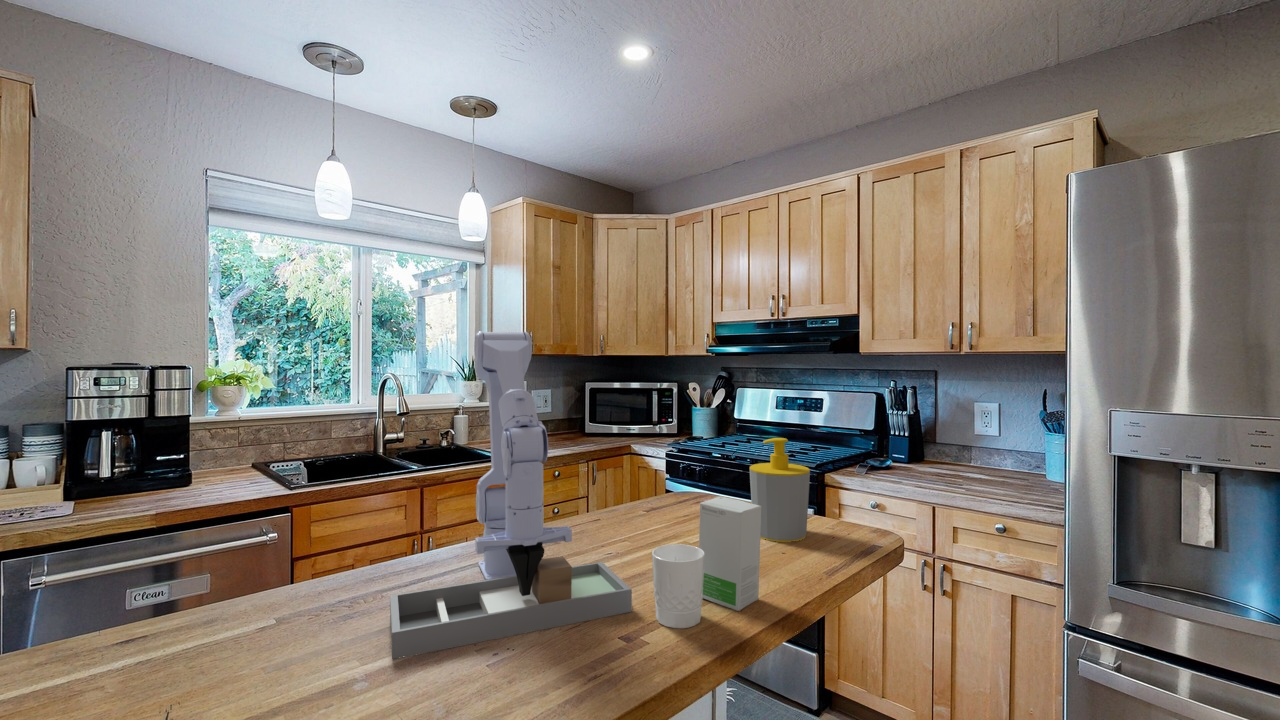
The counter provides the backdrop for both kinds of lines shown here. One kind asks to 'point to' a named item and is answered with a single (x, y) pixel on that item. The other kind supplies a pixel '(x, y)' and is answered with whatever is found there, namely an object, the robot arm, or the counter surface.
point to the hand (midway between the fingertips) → (524, 593)
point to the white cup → (678, 584)
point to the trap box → (498, 610)
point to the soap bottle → (781, 495)
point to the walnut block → (552, 580)
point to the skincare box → (730, 551)
